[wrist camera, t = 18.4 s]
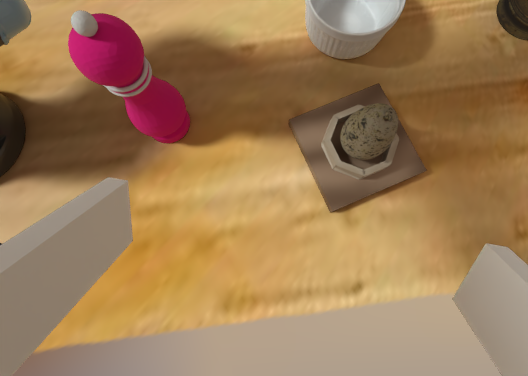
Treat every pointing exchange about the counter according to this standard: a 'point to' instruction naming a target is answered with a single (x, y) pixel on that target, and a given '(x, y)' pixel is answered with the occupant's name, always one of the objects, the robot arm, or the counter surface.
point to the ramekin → (350, 24)
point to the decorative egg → (369, 131)
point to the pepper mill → (127, 74)
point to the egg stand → (343, 165)
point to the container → (514, 17)
